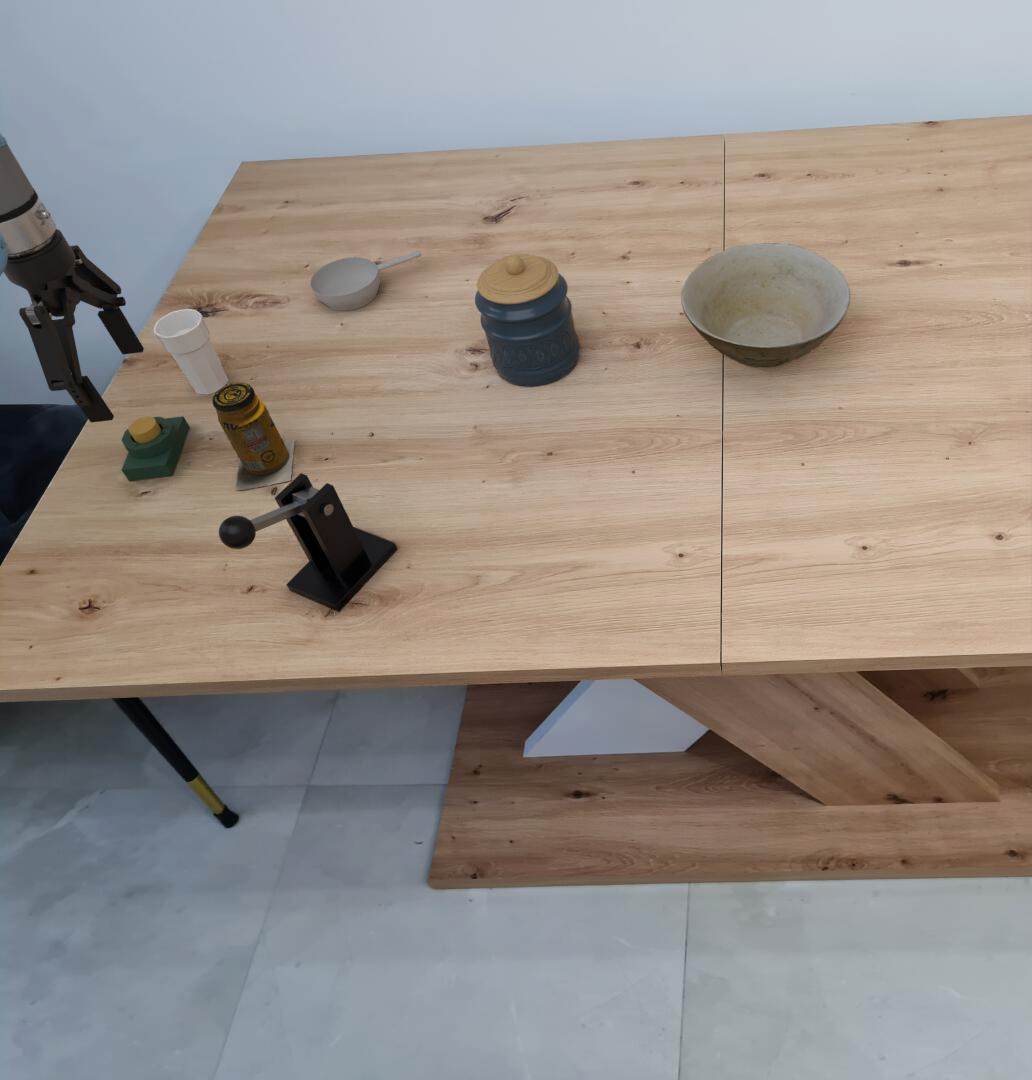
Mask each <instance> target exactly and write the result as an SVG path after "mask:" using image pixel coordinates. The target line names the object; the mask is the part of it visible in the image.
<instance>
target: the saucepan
mask: <svg viewBox="0 0 1032 1080" xmlns="http://www.w3.org/2000/svg"><path fill="white" fill-rule="evenodd" d="M422 255H423V254H422V252H421V251H420V250H417V251H414V252H411V253H409V254H405V255H403V256H401V257H397V258H394V259H391V260H389V261H386V262H383V263H380V264H376V263H375V262H374V261H373V260H371V259H369V258H366V257H360V256H354V257H352V256H351V257H343V258H340V259H339V258H338V259H336V260H333V261H331V262H328V263H325V264H324V265H323V266H321V267H319V269H317V270H316V271H315V272H314V273H313V274H312V276H311V278H310V280H309V286H310V288H311V291H312V292H313V294H314V296H315V297H316V298H317V300H319V301H320V302H321V303H322V304H324V305H326V306H327V307H328V308H329V309H332V310H336V311H351V310H355V309H358V308H361V307H364V306H366V305H367V304H369V303H370V302H372V301H373V300H374V299H375V298H376V296H377V294H378V290H379V288H380V285H381V275H380V272H381V271H383V270H386V269H389V268H392V267H395V266H397V265H400V264H404V263H406V262H409V261H412V260H415V259H417V258H420V257H421V256H422Z"/></svg>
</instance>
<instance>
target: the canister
mask: <svg viewBox="0 0 1032 1080" xmlns="http://www.w3.org/2000/svg"><path fill="white" fill-rule="evenodd" d="M476 287H477V288H476V289H477V291H476V293H475V294H474V295H475V296H474V304H475V307H476V308H477V311H478V312H479V313H480V318H479V319H480V325H481V328H482V329H483V331H484V333H485V337H486V341H487V344H488V348H489V351H490V352H489V353H490V360H491V363H492V365H493V368H494V369H495V370H496V372H497V374H498V376H500V377H501V378H502V380H505V381H506V382H508V383H510V384H514V385H518V386H523V387H524V386H525V387H529V386H530V387H534V386H541V385H542V386H543V385H547V384H550V383H553V382H554V381H558V380H560V379H561V378H564V377H565V376H567V375H568V374H569V373H570V372H572V370H573V369H574V368H575V367H576V366H577V364H578V362H579V359H580V349H581V347H580V346H581V345H580V339H579V336H578V334H577V332H576V326H575V322H574V321H575V320H574V317H573V312H572V310H573V305H572V301H571V299H570V298H569V297H568V295H567V294H568V291H569V290H568V289H569V288H568V287H569V286H568V282H567V281H566V278H565V277H564V276H563V275H562V274H561V273H559V269H558V267H557V266H556V264H555V263H554V262H553V261H551V260H549V259H548V258H546V257H542V256H539V255H534V254H530V253H516V254H515V253H514V254H509V255H506V256H504V257H501V258H499V259H497V260H495V261H494V262H493V263H491V264H490V265H488V266H487V267H486V268H485V269H484V270H482V271H481V273H480V274H479V276H478V278H477V282H476Z"/></svg>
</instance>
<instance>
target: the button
mask: <svg viewBox="0 0 1032 1080" xmlns="http://www.w3.org/2000/svg"><path fill="white" fill-rule="evenodd" d="M153 417H154V416H143V417H142V416H141V417H139V418H137V419H135V420H134V421H132V422H131V423H130V424H129V426H128V428H129V432H130V434H131V435H132V437H133V438H134V440H135V441H136V442H137V443H146V442H149V441H151V440H154V439H155V438H157V437H158V436H159V435H160V434H161V428H160V426H159V425H158V423H157V422H156V420H155V419H154V418H153Z"/></svg>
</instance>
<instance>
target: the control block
mask: <svg viewBox="0 0 1032 1080" xmlns="http://www.w3.org/2000/svg"><path fill="white" fill-rule="evenodd" d="M152 417H153V418H154V419H155V420H156V422H157V423H158V425H159V426H160V428H161V434H160V435H159V436H158V437H157V438H155V439H154V440H151V441H149V442H146V443H137V442H136V441H135V440H134V438H133V437H132V435H131V434H130V432H129V427H128V428H127V429H126V430H125V431H124V433H123V435H122V437H121V442H122V444H123V446H124V448H125V449H126V451H127V455H126V457H125V459H124V462H123V465H122V467H121V472H122V473H123V475H124V476H125V477H126V479H127V481H128V482H135V481H143V480H151V479H158V478H160V479H161V478H168V477H173V476H174V473H175V471H176V469H177V465H178V463H179V460H180V457H181V454H182V451H183V449H184V446H185V443H186V440H187V437H188V434H189V432H190V430H191V426H190V425H189V424H188V422H187V420H186V419H185V418H186V417H184V416H183V415H181V416H173V417H162V416H152Z"/></svg>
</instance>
